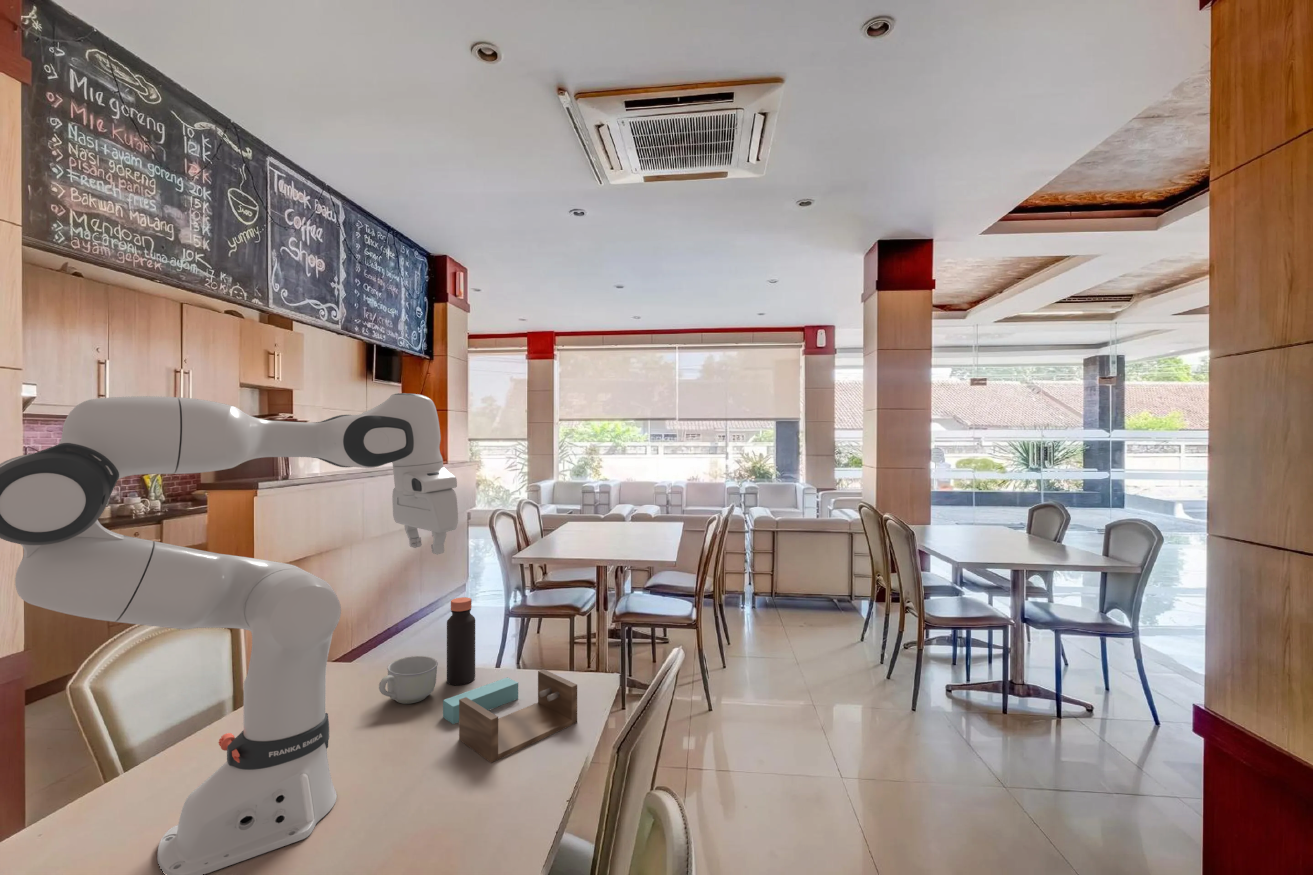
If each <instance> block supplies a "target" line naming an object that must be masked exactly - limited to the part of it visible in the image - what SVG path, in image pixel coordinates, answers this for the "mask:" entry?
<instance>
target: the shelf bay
mask: <svg viewBox="0 0 1313 875" xmlns="http://www.w3.org/2000/svg"><path fill="white" fill-rule="evenodd" d="M575 724H578V684H576V683H575V682H572V681H570V680H568V679H566V678H563V677H561V676H559V675H557V674H555V673H553V672H551V671H549V670H546V669H544V668H543V669H541V670H538V671H537V702H536V703H532V704H530V705H528V706H526V707H523V708H520V709H518V710H516V711H513V712H511V713H508V714H506V715H504V716H501V717H499V716H497V715H496V714H494V713H493V712H491V710H486V709H485V708H483V707H481V706H480V705H478V704H477V703H475V702H473V701H472V700H470V699H468V698H467V697H465V698H462V699H459V722H458V733H459V734H458V740H459V741H460V742H462V743H463V744H464V745H466V746H467V747H469V748H470V749H471V750H473V751H474V752H475V753H477V754H478V755H479V756H480V757H482V758H483V759H485V760H487V761H488V762H489V763H490V764H493V763H494V762H496V761H498V760H501V759H503V758H506V757H507V756H509V755H511V754H514V753H516V752H518V751H520V750H523V749H524V748H526V747H528V746H531V745H533V744H534V743H536V742H539V741H541V740H543V739H545V738H547V737H550V736H552V735H554V734H556V733H558V732H560V731H562V730H564V729H567V728H568V727H571V726H573V725H575Z"/></svg>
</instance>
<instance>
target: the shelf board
mask: <svg viewBox="0 0 1313 875" xmlns="http://www.w3.org/2000/svg"><path fill="white" fill-rule="evenodd" d="M465 697H467V698H468V699H470V700H472V701H473V702H475V703H477V704H478V705H480V706H481V707H483V708H485V709H486V710H488V711H491V710H493V708H494V709H495V708H499V707H501V706H503V704H504V705H506V704H508V703H511V702H513V701H516V700H518V699H519V682H518V681H516V680H514V679H511V678H510V677H504V678H501V679H499V680H496V681H494V682H491V683H487V684H485V685H481V686H480V687H479V686H478V687H476V688H473V689H470V690H468V691H465V692H463V693H460V694H457V695H453V696H451V697H447V698H445V699H443V700H442V718H444V719H445V720H446V721H448V722H449V723H451V724H452V725H455V723H456V724H457V723H458V724H459V699H462V698H465ZM498 706H499V707H498ZM490 709H491V710H490Z"/></svg>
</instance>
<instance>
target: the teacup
mask: <svg viewBox="0 0 1313 875" xmlns="http://www.w3.org/2000/svg"><path fill="white" fill-rule="evenodd" d="M438 665H439V662H438V660H436V659H435V658H434V657H432V656H426V655H414V656H413V655H410V656H406V657H402V658H398V659H396V660H394V661H392V662H390V663H389V664H388V665H387V668H386V669H387V675H385V676H384V677H382V678H381V680H380V682H379V684H378V690H379V692H380V694H382V695H383V696H386V697H389V698H390V699H391V700H395V701H396V702H398V703H400V704H404V705H406V704H408V705H409V704H415V703H418V702H422V701H423V700H424V699H426V698H427V697H428V696H429V695H431V694H432V692H433V691H434V689H435V687H436V684H437V683H436V682H437V673H438V670H437V669H438ZM386 685H387V689H386Z"/></svg>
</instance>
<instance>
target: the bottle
mask: <svg viewBox="0 0 1313 875" xmlns="http://www.w3.org/2000/svg"><path fill="white" fill-rule="evenodd" d="M471 610H472V598H471V597H465V596H464V597H456V598H453V599H451V600H450V612H451V615H450V617H449V618H448V619H447V620H446V683H447V684H448V685H452V686H462V685H467V684H469V683H471V682H473V681H474V680H475V679H476V618H475V616H474V615H473V614H472V613H471Z"/></svg>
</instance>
